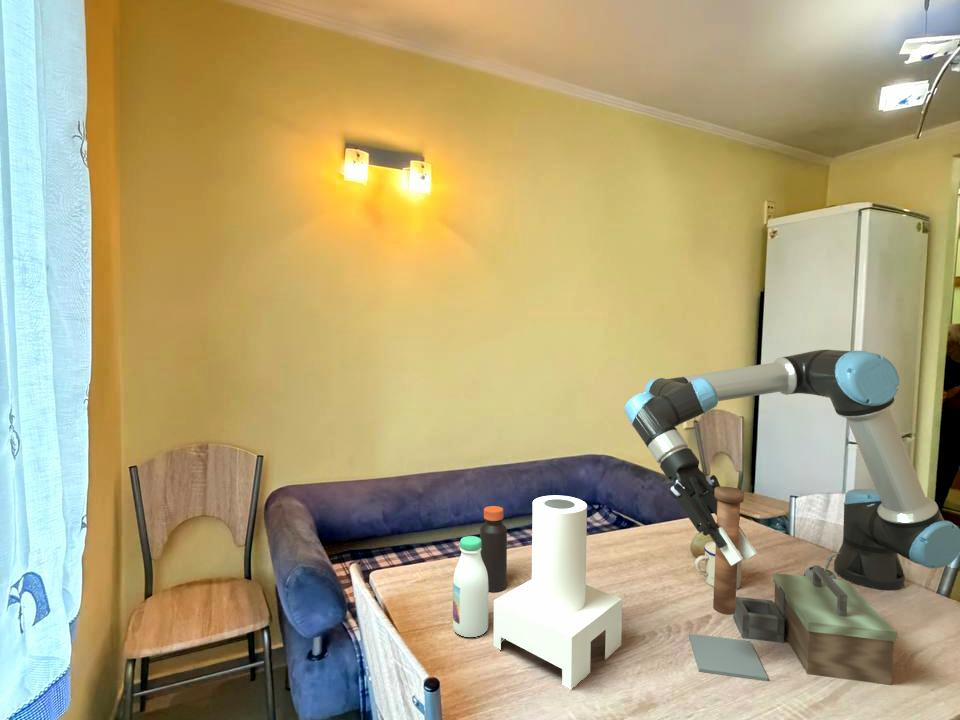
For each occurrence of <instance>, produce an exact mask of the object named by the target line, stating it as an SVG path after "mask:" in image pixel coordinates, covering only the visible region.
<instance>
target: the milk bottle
mask: <svg viewBox="0 0 960 720" xmlns="http://www.w3.org/2000/svg"><path fill="white" fill-rule="evenodd" d="M481 545H482V542H481V539H480V537H478V536H475V535H474V536H473V535H469V536H464V537H462V538H461V539H460V541H459V547H460V548H459V550H460V551H461V553H460V557H459V560H458V562H457V564H456V566H455V569H454V573H453V579H452V580H453V581H452V584H453V585H452V629H453V631H454V633H455V632H456V633H457V634H459V635H461V636H464V637H476V636H480V635H482V634H484V633H485V632H486V631H488V629H489V592H488V574H487V570H486V567H485V565H484V563H483V560H482V558H481V553H480V551H481ZM456 633H455V634H456ZM486 633H487V632H486ZM486 633H485V634H486ZM457 634H456V635H457ZM485 634H484V635H485ZM459 635H458V636H459ZM461 636H460V637H461ZM482 636H483V635H482ZM464 637H463V638H464ZM480 637H481V636H480ZM476 638H477V637H476Z"/></svg>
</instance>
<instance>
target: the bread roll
mask: <svg viewBox="0 0 960 720" xmlns="http://www.w3.org/2000/svg"><path fill="white" fill-rule="evenodd" d="M709 542H713V539H712V538H711V536H710V535H709V534H708V535H707V536H705V535H703V532H701V533H700V532H698V531H697V533H696V534H695V535H694V537H692V540H691V542H690V547H689V549H690V553H691V555H692V556H694V557H695V559H697V558H698V557H699V556H702V555H705V550H704V547H705V545H706V544H707V543H709Z"/></svg>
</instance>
